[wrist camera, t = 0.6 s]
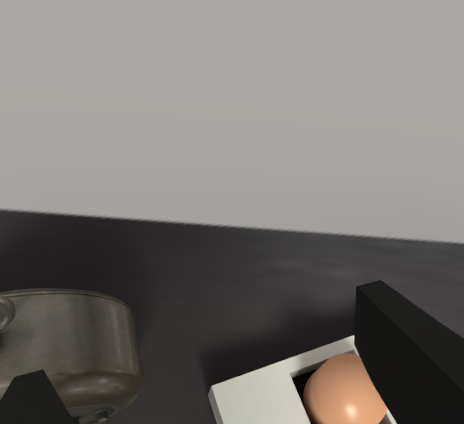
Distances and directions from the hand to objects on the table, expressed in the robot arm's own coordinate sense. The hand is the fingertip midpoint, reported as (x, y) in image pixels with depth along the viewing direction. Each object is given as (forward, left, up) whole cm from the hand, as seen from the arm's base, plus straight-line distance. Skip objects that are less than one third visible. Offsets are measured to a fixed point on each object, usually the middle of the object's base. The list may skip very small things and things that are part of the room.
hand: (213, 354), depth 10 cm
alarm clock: (+5, +7, -19) cm, 20 cm away
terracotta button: (-1, -9, -17) cm, 19 cm away
